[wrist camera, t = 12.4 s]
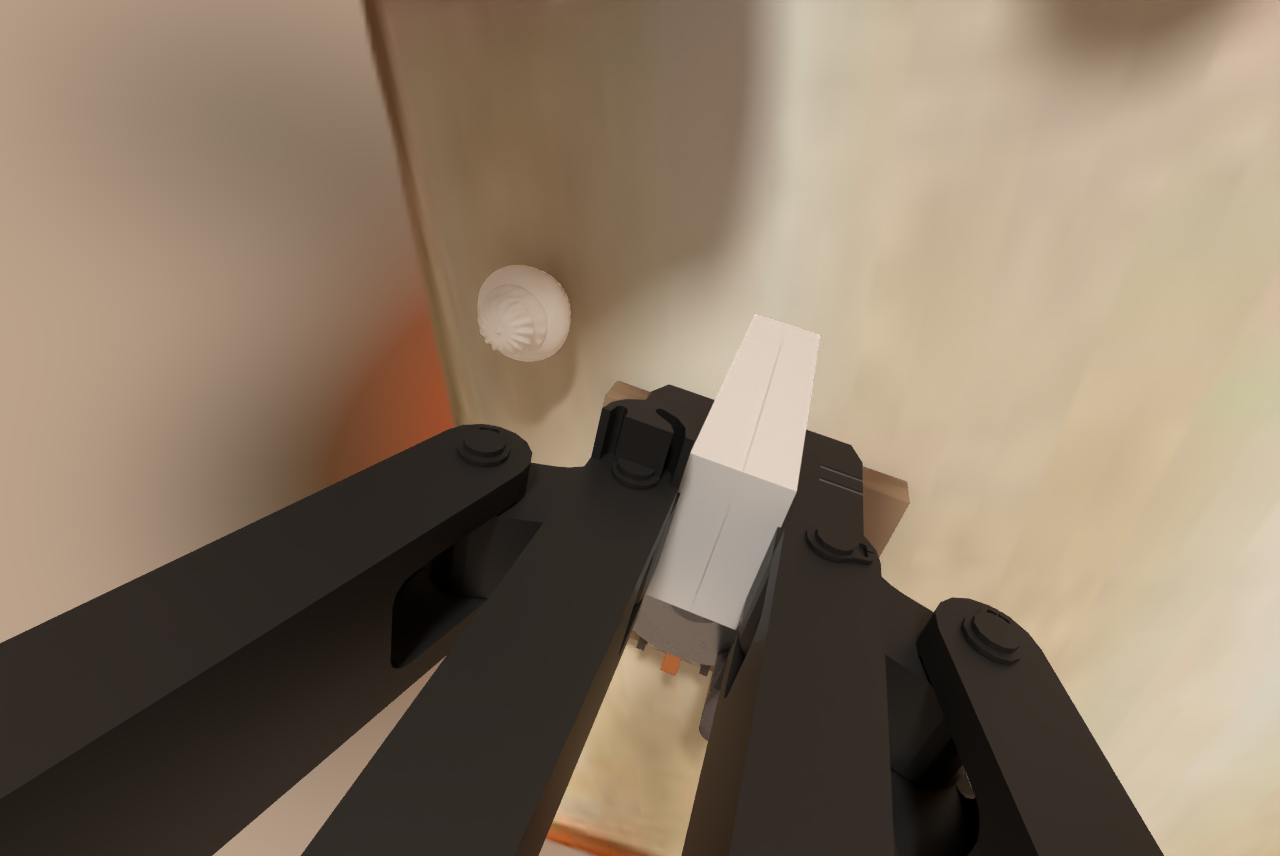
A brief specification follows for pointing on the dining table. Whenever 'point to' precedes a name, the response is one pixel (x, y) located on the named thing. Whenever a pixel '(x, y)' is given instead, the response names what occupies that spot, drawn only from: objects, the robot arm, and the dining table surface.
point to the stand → (880, 494)
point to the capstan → (687, 644)
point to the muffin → (523, 313)
